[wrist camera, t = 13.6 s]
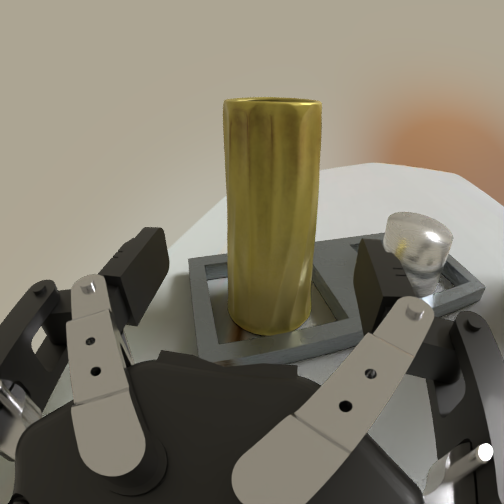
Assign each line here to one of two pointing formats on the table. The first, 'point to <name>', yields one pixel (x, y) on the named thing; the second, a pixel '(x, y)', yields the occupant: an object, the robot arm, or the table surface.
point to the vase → (271, 209)
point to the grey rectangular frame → (339, 292)
